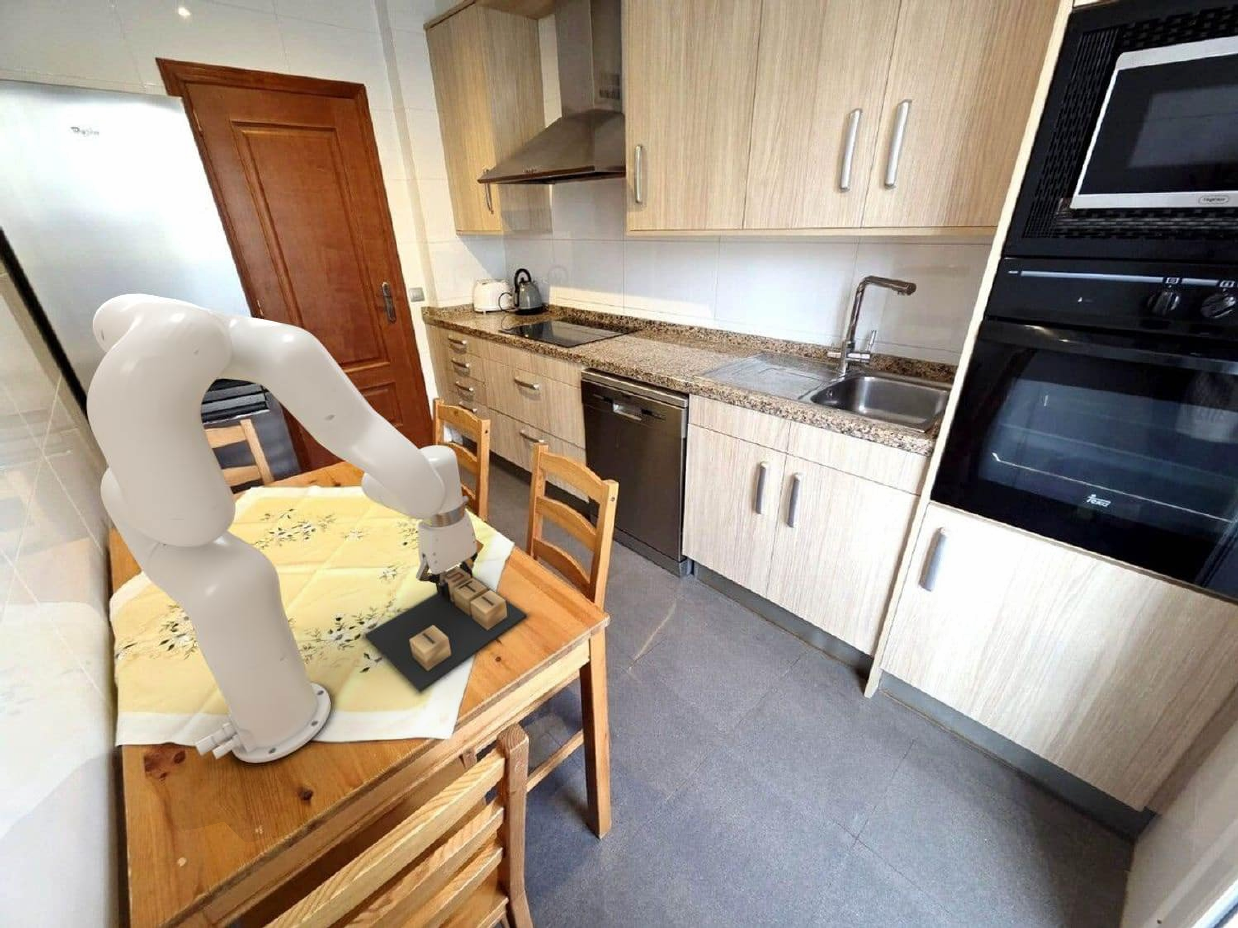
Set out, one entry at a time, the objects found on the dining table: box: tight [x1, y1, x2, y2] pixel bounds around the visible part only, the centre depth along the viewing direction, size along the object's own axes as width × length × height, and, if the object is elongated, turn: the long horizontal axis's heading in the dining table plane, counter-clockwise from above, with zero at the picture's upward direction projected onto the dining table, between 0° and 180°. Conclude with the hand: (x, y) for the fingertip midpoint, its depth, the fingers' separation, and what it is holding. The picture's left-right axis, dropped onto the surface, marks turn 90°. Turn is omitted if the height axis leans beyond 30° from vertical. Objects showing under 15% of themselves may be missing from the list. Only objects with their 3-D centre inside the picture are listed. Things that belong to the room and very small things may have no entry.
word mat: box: [365, 577, 528, 693], centre depth 92 cm, size 22×18×1 cm
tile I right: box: [470, 589, 507, 630], centre depth 93 cm, size 4×4×4 cm
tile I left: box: [409, 625, 451, 671], centre depth 84 cm, size 4×4×4 cm
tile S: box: [445, 565, 471, 602], centre depth 99 cm, size 4×4×4 cm
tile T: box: [453, 577, 488, 616], centre depth 96 cm, size 4×4×4 cm
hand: (456, 589), depth 100 cm, fingers closed on tile S, 4 cm apart
